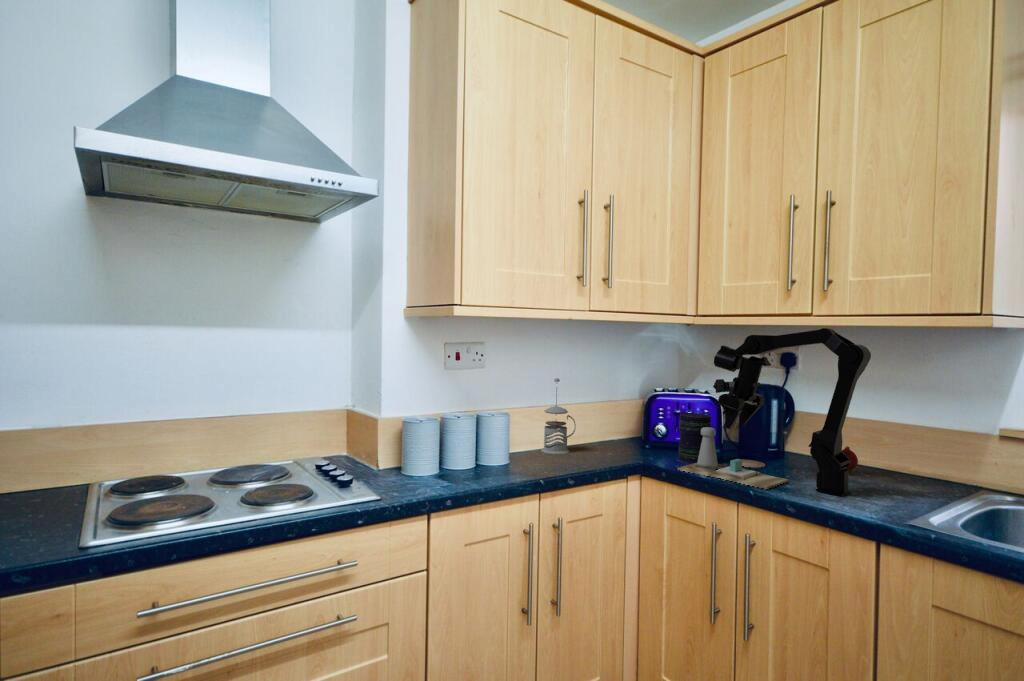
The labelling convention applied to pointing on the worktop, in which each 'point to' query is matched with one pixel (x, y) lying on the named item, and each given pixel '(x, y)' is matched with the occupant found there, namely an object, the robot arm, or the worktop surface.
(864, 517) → the worktop surface
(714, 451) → the salt shaker
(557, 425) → the french press
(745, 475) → the cover
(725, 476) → the board
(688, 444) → the storage jar
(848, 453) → the onion
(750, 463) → the pad
